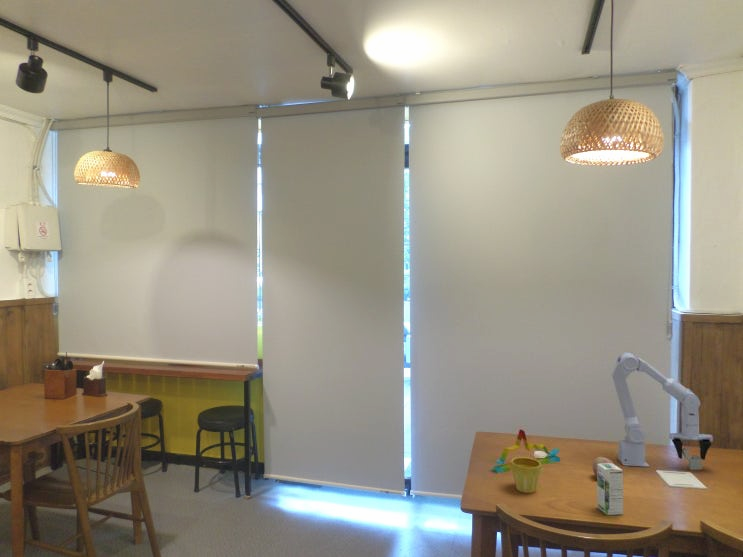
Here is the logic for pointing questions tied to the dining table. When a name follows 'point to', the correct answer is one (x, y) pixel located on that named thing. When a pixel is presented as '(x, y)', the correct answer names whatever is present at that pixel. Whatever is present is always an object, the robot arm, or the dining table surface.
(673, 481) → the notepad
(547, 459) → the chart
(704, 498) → the dining table surface
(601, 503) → the syrup box
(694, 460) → the lighter
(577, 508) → the dining table surface
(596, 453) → the dining table surface
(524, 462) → the plant pot
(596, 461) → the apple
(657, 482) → the dining table surface
